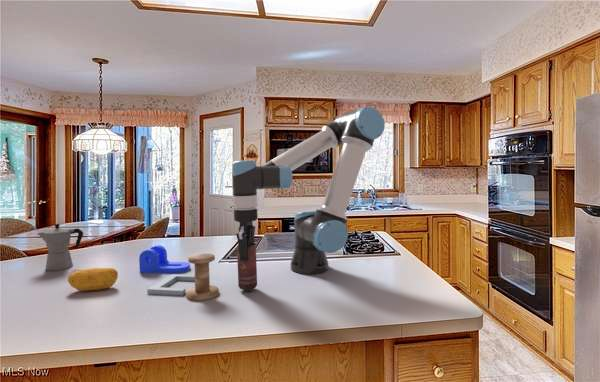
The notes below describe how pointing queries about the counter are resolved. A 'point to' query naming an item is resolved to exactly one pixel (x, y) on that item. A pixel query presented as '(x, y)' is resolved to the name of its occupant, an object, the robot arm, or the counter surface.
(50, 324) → the counter surface
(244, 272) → the can
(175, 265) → the bracket
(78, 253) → the counter surface
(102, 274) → the potato
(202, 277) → the bobbin
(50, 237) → the coffeepot
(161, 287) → the grey u-shaped frame
